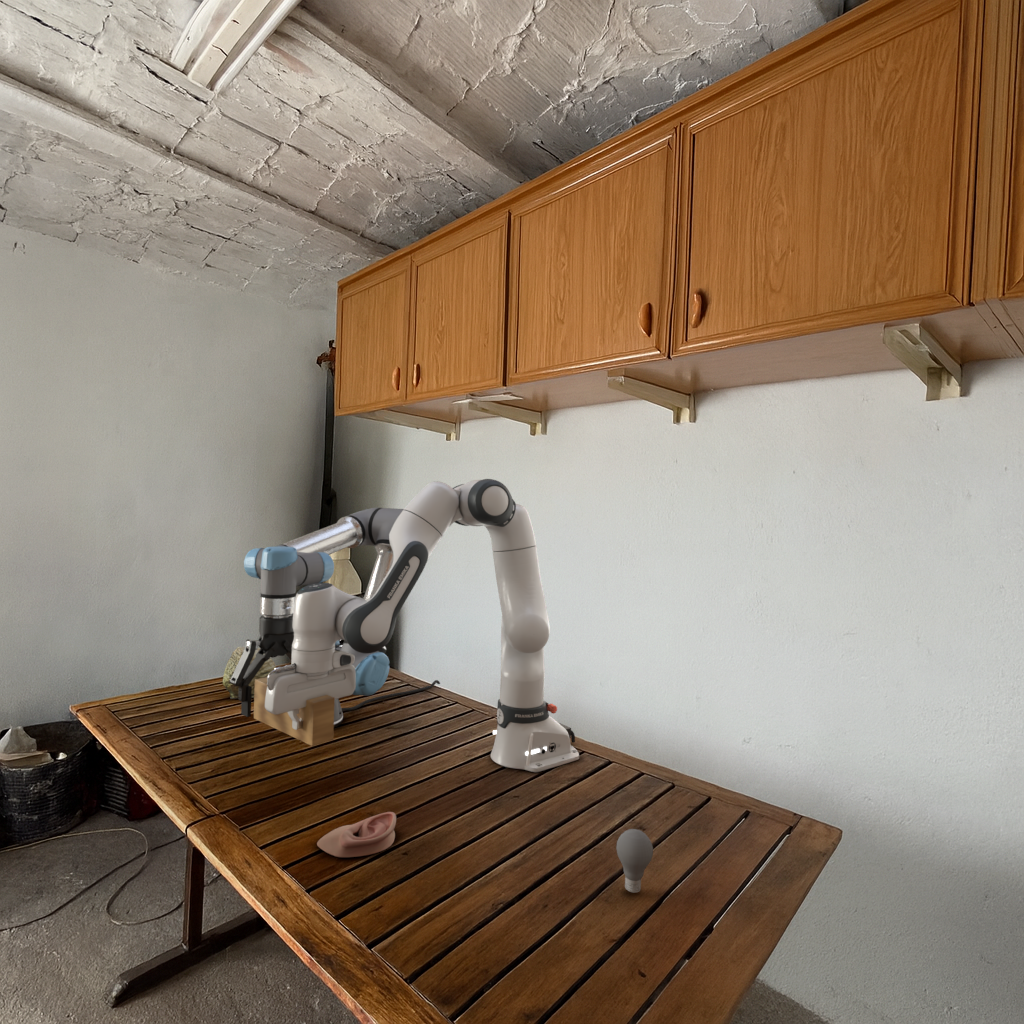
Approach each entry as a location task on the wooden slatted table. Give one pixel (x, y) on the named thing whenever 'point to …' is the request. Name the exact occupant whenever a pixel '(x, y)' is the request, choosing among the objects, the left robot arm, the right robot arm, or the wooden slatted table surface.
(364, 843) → the anatomical model
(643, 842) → the light bulb
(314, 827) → the wooden slatted table surface
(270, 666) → the fossil
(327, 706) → the bar
